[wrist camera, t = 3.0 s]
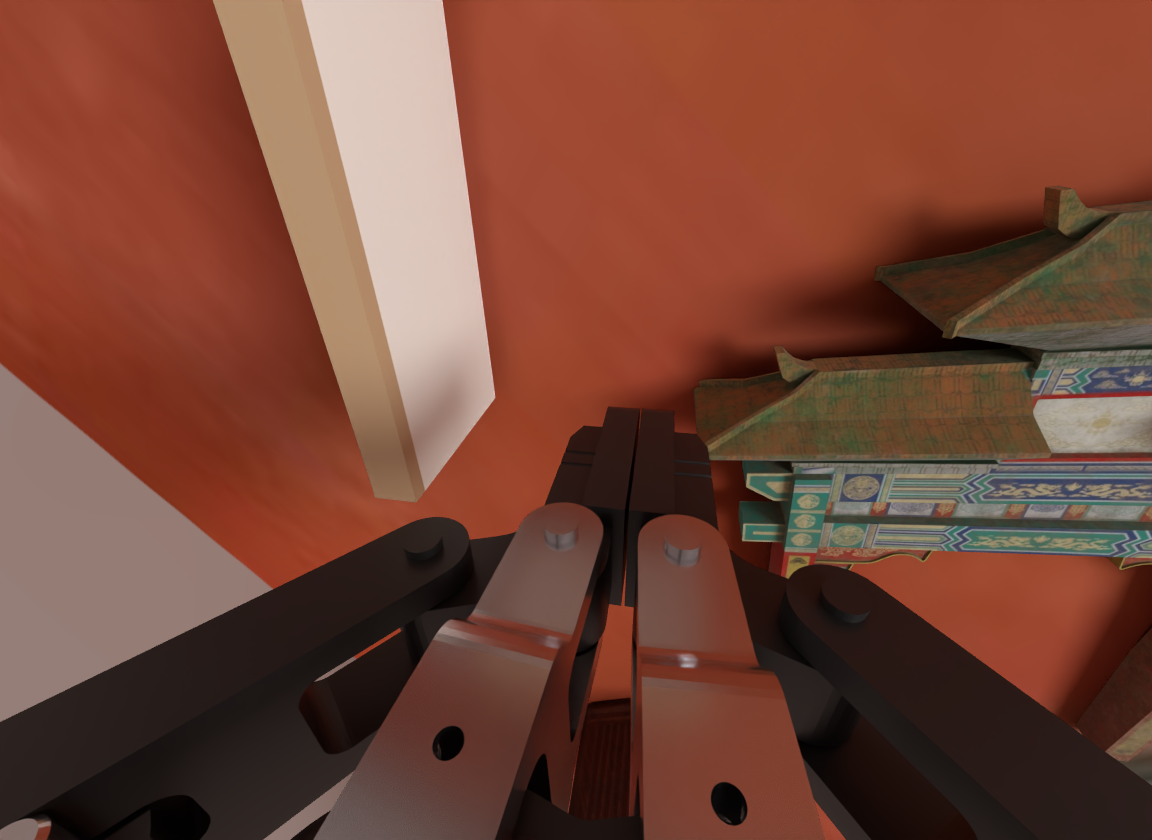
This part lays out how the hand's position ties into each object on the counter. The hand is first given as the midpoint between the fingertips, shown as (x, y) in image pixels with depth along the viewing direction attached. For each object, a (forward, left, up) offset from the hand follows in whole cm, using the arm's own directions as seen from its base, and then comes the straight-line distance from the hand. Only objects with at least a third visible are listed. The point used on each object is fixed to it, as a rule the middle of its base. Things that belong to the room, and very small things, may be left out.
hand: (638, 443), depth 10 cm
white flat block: (-4, -8, -9) cm, 13 cm away
